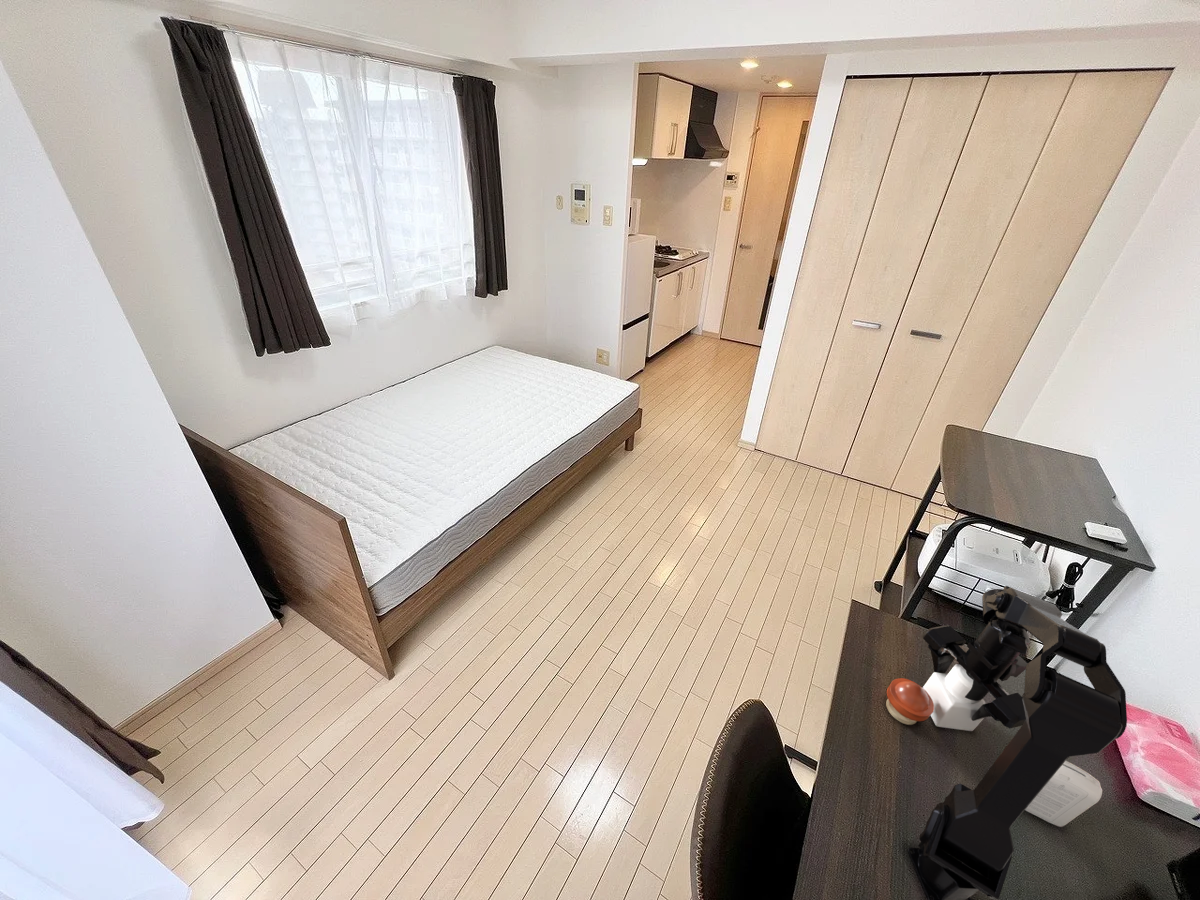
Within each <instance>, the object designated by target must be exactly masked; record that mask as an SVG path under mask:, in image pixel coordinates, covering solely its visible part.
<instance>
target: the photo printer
mask: <svg viewBox="0 0 1200 900" xmlns="http://www.w3.org/2000/svg"><path fill="white" fill-rule="evenodd" d="M1102 796H1103V789H1102V787H1101V782H1100V781H1099V780H1098V779H1097V778H1096V777H1094V776H1093V775H1091V774H1090V773H1088V771H1086V770H1084V769H1082V768H1081V767H1078V765H1076V764H1074V763H1071V762H1070V761H1067V760H1066V761H1065V762H1064V763H1063V765H1062V766H1061V767H1060V768H1059V769H1058V771H1057V772H1056V773H1055V774H1054V775H1053V777H1052V778H1051V779H1050V780H1049V781H1048V783H1047V784H1046V785H1045V786H1044V787H1043V789H1042V790H1041V791H1040V792H1039V793H1038V795H1037V796H1036V797H1035V798H1034V800H1033V801H1032V802H1031V803H1030V804H1029V806H1028V807H1027V808H1026V809H1025V810H1024V811H1026V812H1027V813H1029V814H1031V815H1034V816H1036V817H1038V818H1039V819H1041V820H1043V821H1045V822H1047V823H1049V824H1051V825H1054V826H1056V827H1059V828H1063V827H1065V826H1066V825H1068V824H1069V823H1070V822H1071V821H1073V820H1074V819H1076V818H1077V817H1078V816H1080V815H1081V814H1083V813H1084V812H1086V811H1087V810H1088V809H1090V808H1092V807H1093V806H1094V805H1095V804H1097V803H1099V801H1100V800H1101V798H1102Z"/></svg>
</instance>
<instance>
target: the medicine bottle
mask: <svg viewBox="0 0 1200 900" xmlns="http://www.w3.org/2000/svg"><path fill="white" fill-rule="evenodd" d="M922 688H923V689H924V690H925V691H926V692H927V693H928V694H929V695H930V697H931V699H932V701H933V703H934V711H933V713H932V714H931V715H930V717H931V719H932V721H933V723H934V726H935V727H938V728H945V729H952V730H953V729H954V730H960V731H966V732H973V731H974V730H976V728H977V727H978V726H979V725H980V723H982V722H983V720H984V719H985V718H982V719H979V720H975V721H972V720H971V718H972V716H973V714H974V713H975V712H976V711H977V710H978V709H979V708H980V707H981V706H982V705H983V704H987V702H986V701H985V699H984V698H985V697H986V696H987V695H988V694H989V693H990V692H989V691H988V690H987V689H986V688H985V687H984V686H983V685H982V684H981V683H978V682H977V681H976V680H975V679H974V678H973V677H972V676H971V675H970V674H969V673H968V672H967V671H966V670H965V669H964V668H963V667H962V666H961V665H960V664H959V663H958V662H957V663H955V664H954V665H953V666H952V668H951V669H950V671H949V672H948V673H945V674H944V673H937V672H934V671H933V672H932V674H931V675H930V676H929V678H928V680H927V681H926V682H925V683H924V685H923V686H922Z"/></svg>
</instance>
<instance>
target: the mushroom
mask: <svg viewBox="0 0 1200 900" xmlns="http://www.w3.org/2000/svg"><path fill="white" fill-rule="evenodd" d="M886 695H887V696H886V697H887V699H886V702H885V704H886V709H887V711H888V713H889V714H890V715H891V716H892V717H893V718H894V720H897V722H899V723H900V724H904V725H908V726H912V725H915V724H916V723H917V722H924V721H927V720H928V719H929V718H930V717H931V714H932V713H933V711H934V703H933V701H932V699H931V697H930V695H929V694H928V693H927V692H926V691H925V690H924V689H923V686H921V685H920V684H919V683H916V682H915V681H913V680H910V679H908V678H901V677H899V678H895V679H893V680H892V681H891V683H890V684H889V685H888V686H887V689H886Z"/></svg>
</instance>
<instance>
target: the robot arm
mask: <svg viewBox="0 0 1200 900" xmlns="http://www.w3.org/2000/svg"><path fill="white" fill-rule="evenodd" d="M981 597H982V598H981V599H982V603H981V604H982V621H983V623H984V624H985V625H986V626H985V627H984V628H983V629H982V631H981V632H980V633H979V635H978V636H977V637H976V638H975V640H974V641H970V642H968V643H967V642H966V639H964V637H962V635H960V634H959V632H957V631H956V630H955V629H954V627H952V626H951V625H940V626H935V627H930V628H928V629H926V631H925V632H924V634H923V636H922V638H923V640H924V641H925V642H926V643H927V648H928V649H929V651H930V655H931V659H932V665H933V673H934V672H937V673H944V674H947V671H948V669H949V668H950V666H951V665H952V664H953V662H954V660H955V661H956V662H957V664H958V663H959V664H960V665H961V666H962V667H963V668H964V669H965V670H966V671H967V672H968V673H969V674H970V675H971V676H972V677H973V678H974V679H975V680H976V681H977V682H978V683H981V684H982V685H983V686H984V687H985V688H986V689H987V690H988V691H989V692H988V693H990V694H991V696H992V697H993V698H994V699H993V700H992V701H991V702H988V703H987V702H986V704H983V705H982V706H981V707H980V708H979V709H978V710H977V711H976V712H975V713H974V714H973V716H972V718H971V720H972V721H975V720H979V719H982V718H984V719H985V718H990V717H991V718H992V719H993V720H994V721H995V722H1000V723H1001V724H1002V725H1003V726H1004V727H1006V728H1008V729H1013V728H1017V727H1020V728H1019V729H1018V731H1017V732H1016V733H1015V735H1014V736H1013V737H1012V738H1011V739H1010V741H1009V743H1007V745H1006V746H1005V748H1004V749H1003V751H1002V752H1001V753H1000V754H999V756H998V757H997V759H996V760H995V761H994V763H993V764H992V765H991V767H990V768H989V769H988V770H987V772H986V773H985V775H984V776H983V777H982V779H981V780H980V782H979V783H978V784H977V785H976V787H975V788H974V789H971V788H969V786H966V785H964V784H963V783H957V784H955V785H954V786H953V787H952V790H951V791H950V793H949V794H948V795H947V796H945V798H944V801H943V802H938V803H937V804H936V805H935V807H934V808H933V809H932V810H931V813H930V815H929V817H928V819H927V821H926V822H925V823H926V824H925V828H924V830H923V831H922V832H921V833H920V834H919V839H918V840H919V841H920V842H919V843H918V847H908V848H907V850H906V852H907V855H908V856H909V859H910V862H911V863H912V866H913V868H914V871H915V873H916V875H917V878H918V880H919V883H920V885H921V887H922V889H923V892H924V895H925V897H926V899H927V900H973V899H972V896H973V895H975V894H976V893H977V892H981V893H982V894H984V895H986V897H988V898H989V899H991V900H999V899H1000V897H1001V893H1002V890H1003V887H1004V884H1005V880H1006V878H1007V874H1008V871H1009V868H1010V865H1011V862H1012V858H1013V855H1014V852H1015V848H1014V842H1013V838H1012V832H1011V828H1012V826H1013V825H1014V824H1015V823H1016V821H1017V820H1018V819H1019V818H1020V816H1022V814H1023V813H1024V812H1025V811H1026V810H1025V809H1026V808H1027V807H1028V806H1029V804H1030V803H1031V802H1032V801H1033V800H1034V798H1035V797H1036V796H1037V795H1038V793H1039V792H1040V791H1041V790H1042V789H1043V787H1044V786H1045V785H1046V784H1047V783H1048V781H1049V780H1050V779H1051V778H1052V777H1053V775H1054V774H1055V773H1056V772H1057V771H1058V769H1059V768H1060V767H1061V766H1062V765H1063V763H1064V762H1065V761H1067V760H1068V759H1069V758H1072V757H1078V756H1086V755H1093V754H1094V755H1095V754H1099V753H1101V752H1102V751H1103V750H1104V749H1105V748H1106V747H1108V746H1109V745H1110V744H1111V743H1112V742H1113V741H1115V740H1117V739H1120V738H1121V737H1122V736H1123V734H1124V733H1125V731H1126V729H1127V725H1128V713H1127V695H1126V690H1125V688H1124V686H1123V684H1122V683H1121V681H1120V680H1119V678H1117V676H1116V674H1115V673H1114V671H1113V670H1112V667H1111V666H1110V665H1109V663H1108V662H1107V648H1106V645H1105V643H1102V642H1100V641H1099V640H1098V638H1095V637H1093V636H1090V635H1088V634H1086V633H1085V632H1083V631H1082V630H1080V629H1078V628H1077V627H1075V626H1073V625H1072V624H1070V623H1069V622H1068V621H1066V620H1064V619H1063V618H1061V617H1062V616H1063V613H1062V611H1061V610H1060V609H1059V608H1058V606H1057V605H1056V604H1054V603H1052V602H1049V601H1046V600H1045V599H1042V598H1039V597H1038V596H1037V597H1036V596H1034V595H1032V594H1029V593H1027V592H1025V591H1021V590H1018V589H1016V588H1014V587H1011V586H1009V585H1005V586H1004V587H1003V588H992V589H990V590H987V591H984V592H983V594H982V596H981ZM1028 632H1029V633H1028ZM1029 634H1030V635H1032V636H1033V637H1034V638H1035V639H1037V640H1038V641H1039V642H1040V643H1041V644H1042V652H1041V653H1040V654H1039V655H1037V656H1036V657H1035V658H1032V660H1030V661H1029V662H1027V661H1025V660H1024V659H1023V658H1022V657H1021V656H1020V655H1021V654H1022V655H1027V652H1028V646H1029V645H1030V643H1031V639H1030V635H1029ZM966 643H967V644H966ZM965 644H966V647H967V648H968V649H967V650H966V651H965V650H964V649H963V648H962V647H963V646H965ZM1051 654H1054V655H1056V656H1059V657H1061V658H1063V659H1065V660H1067V661H1070V662H1072V663H1075V664H1077V665H1079V666H1080V667H1081V666H1082V667H1083V671H1084V674H1085V676H1086V677H1087V679H1088V681H1089V682H1090V684H1091V686H1092V687H1091V686H1089V685H1086V684H1084V683H1082V682H1080V681H1078V680H1076V679H1073V678H1071V677H1069V676H1066V675H1064V674H1061V672H1057V671H1055V670H1053V669H1051V668H1050V669H1046V664H1047V657H1048V656H1050V655H1051ZM1024 672H1025V674H1024V688H1023V691H1024V692H1023V694H1020V693H1019V692H1014V693H1009V692H1007V691H1006V690H1005V688H1004V687H1002V685H1000V683H999V682H998V680H1000V681H1001V682H1005V681H1008V679H1009V678H1010V677H1014V678H1017V677H1019V676H1020V675H1021V674H1023V673H1024Z"/></svg>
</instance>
